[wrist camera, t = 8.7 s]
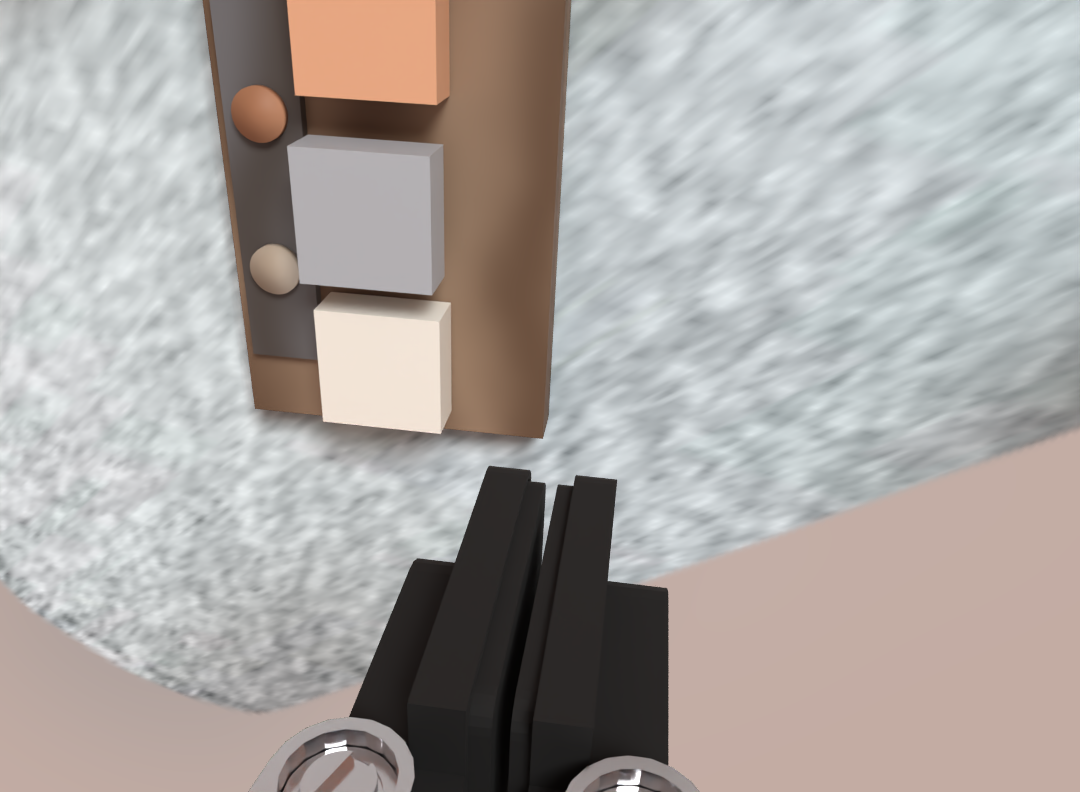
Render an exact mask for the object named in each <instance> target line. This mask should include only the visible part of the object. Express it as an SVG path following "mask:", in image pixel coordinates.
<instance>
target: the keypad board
mask: <svg viewBox="0 0 1080 792" xmlns="http://www.w3.org/2000/svg"><path fill="white" fill-rule="evenodd" d="M203 7H204V14H205V22H206V30H207V38H208V46H209V53H210V61H211V69H212V77H213V85H214V92H215V100H216V108H217V116H218V123H219V131H220V139H221V147H222V155H223V162H224V170H225V178H226V186H227V194H228V201H229V209H230V217H231V225H232V233H233V240H234V248H235V256H236V264H237V272H238V279H239V287H240V295H241V303H242V311H243V318H244V326H245V334H246V342H247V350H248V357H249V365H250V373H251V381H252V389H253V396H254V404H255V409H264V410H273V411H283V412H292V413H302V414H312V415H321V416H323V413H322V402H321V390H320V379H319V367H318V356H317V344H316V333H315V321H314V309H315V308H316V307H317V306H318V305H319V304H320V303H321V302H322V301H323V300H324V299H325V298H326V297H327V296H328V294H329V293H330V292H339V293H350V294H361V295H372V296H383V297H394V298H405V299H417V300H428V301H439V302H450V303H451V403H452V411H451V413H450V415H449V417H448V419H447V422H446V424H445V426H444V428H445V429H455V430H464V431H474V432H483V433H493V434H502V435H512V436H522V437H531V438H541V439H543V436H544V432H545V428H546V424H547V420H548V415H549V397H550V378H551V360H552V342H553V324H554V305H555V287H556V269H557V251H558V232H559V214H560V196H561V178H562V159H563V141H564V123H565V105H566V86H567V68H568V50H569V32H570V13H571V0H449V54H450V96H449V97H447V98H446V99H445V100H443V101H442V102H440V103H439V104H438V105H428V104H414V103H399V102H385V101H370V100H355V99H341V98H326V97H312V96H297V95H295V89H294V77H293V66H292V54H291V43H290V31H289V20H288V8H287V0H203ZM306 135H322V136H336V137H349V138H363V139H377V140H390V141H404V142H418V143H431V144H443V167H444V273H445V277H444V278H443V280H442V281H441V283H440V284H439V286H438V287H437V289H436V290H435V292H434V293H433V295H422V294H411V293H400V292H389V291H378V290H367V289H356V288H345V287H334V286H322V285H311V284H300V280H299V269H298V258H297V247H296V237H295V226H294V215H293V205H292V194H291V183H290V172H289V162H288V151H287V146H288V145H290V144H292V143H294V142H295V141H297V140H299V139H301V138H303V137H305V136H306Z"/></svg>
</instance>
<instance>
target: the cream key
mask: <svg viewBox="0 0 1080 792" xmlns="http://www.w3.org/2000/svg"><path fill="white" fill-rule="evenodd" d="M314 321H315V333H316V344H317V356H318V367H319V379H320V390H321V402H322V413H323V422H333V423H342V424H351V425H361V426H370V427H380V428H389V429H399V430H408V431H418V432H427V433H437V434H441V433H442V430H443V428H444V426H445V424H446V422H447V419H448V417H449V415H450V413H451V411H452V403H451V303H450V302H439V301H428V300H417V299H405V298H394V297H383V296H372V295H361V294H350V293H339V292H330V293H329V294H328V296H327V297H326V298H325V299H324V300H323V301H322V302H321V303H320V304H319V305H318V306H317V307H316V308H315V309H314Z"/></svg>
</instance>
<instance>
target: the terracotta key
mask: <svg viewBox="0 0 1080 792" xmlns="http://www.w3.org/2000/svg"><path fill="white" fill-rule="evenodd" d="M287 8H288V20H289V31H290V43H291V54H292V66H293V77H294V89H295V95H297V96H312V97H326V98H341V99H355V100H370V101H385V102H399V103H414V104H428V105H438V104H439V103H440V102H442V101H443V100H445V99H446V98H447V97H449V96H450V54H449V0H287Z"/></svg>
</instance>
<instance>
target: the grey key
mask: <svg viewBox="0 0 1080 792" xmlns="http://www.w3.org/2000/svg"><path fill="white" fill-rule="evenodd" d="M287 151H288V162H289V172H290V183H291V194H292V205H293V215H294V226H295V237H296V247H297V258H298V269H299V280H300V284H311V285H322V286H334V287H345V288H356V289H367V290H378V291H389V292H400V293H411V294H422V295H433V293H434V292H435V290H436V289H437V287H438V286H439V284H440V283H441V281H442V280H443V278H444V277H445V273H444V167H443V144H431V143H418V142H404V141H390V140H377V139H363V138H349V137H336V136H322V135H306V136H305V137H303V138H301V139H299V140H297V141H295V142H294V143H292V144H290V145H288V146H287Z"/></svg>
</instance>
